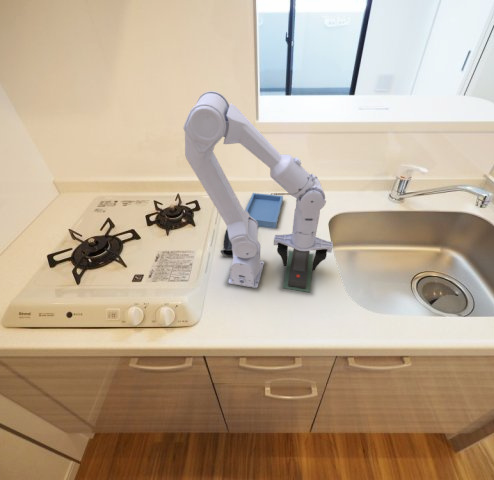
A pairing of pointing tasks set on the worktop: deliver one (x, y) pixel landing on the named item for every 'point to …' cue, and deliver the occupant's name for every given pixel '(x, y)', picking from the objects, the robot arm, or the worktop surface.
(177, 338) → the worktop surface
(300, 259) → the remote
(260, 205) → the box
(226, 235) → the electronic device
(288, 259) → the mat
